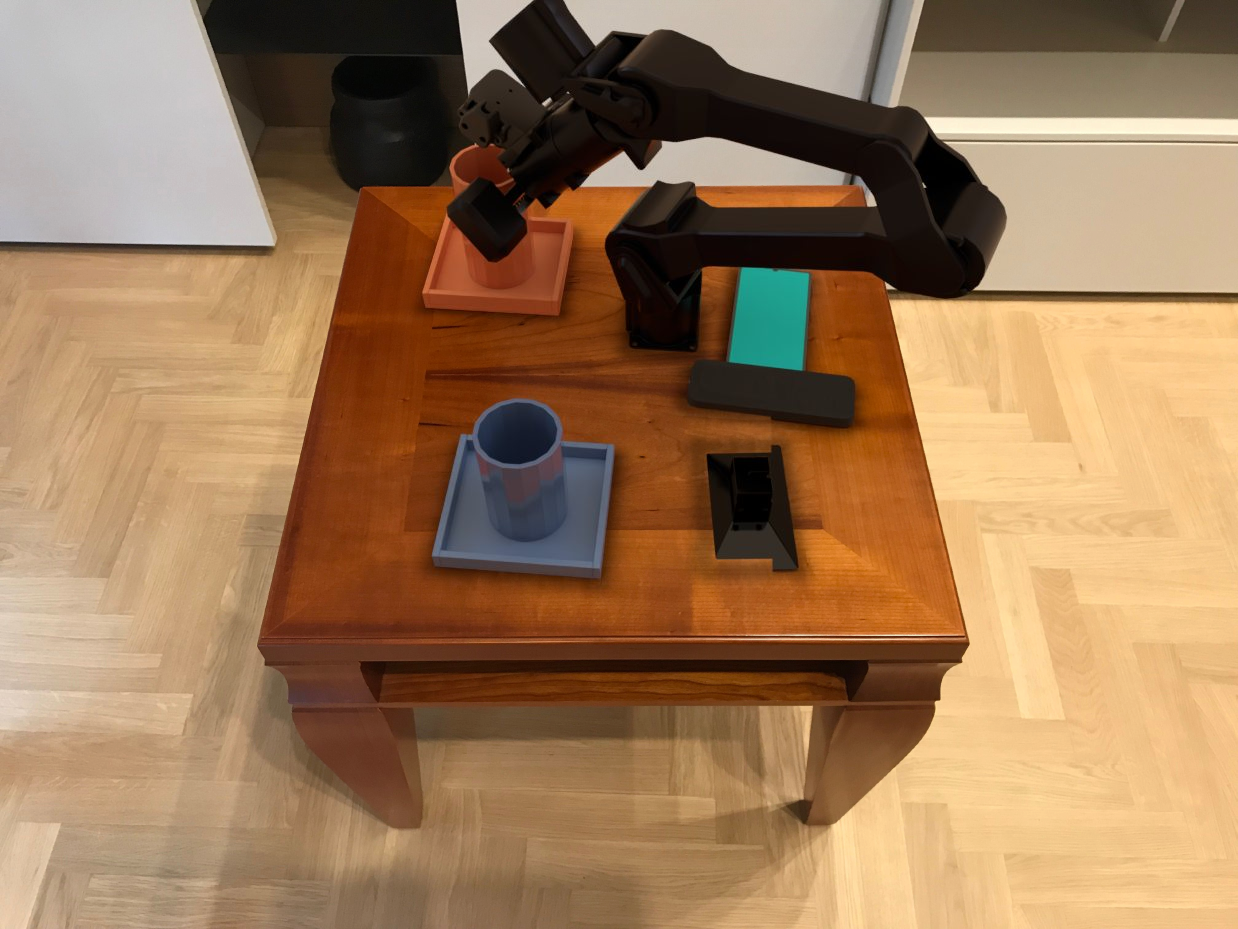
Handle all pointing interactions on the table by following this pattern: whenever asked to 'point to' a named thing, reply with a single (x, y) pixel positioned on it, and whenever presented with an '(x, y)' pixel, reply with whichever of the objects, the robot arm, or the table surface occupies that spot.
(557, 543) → the blue tray
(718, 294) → the table surface
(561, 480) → the blue cup
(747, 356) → the smartphone
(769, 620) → the table surface
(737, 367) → the remote control
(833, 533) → the table surface
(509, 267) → the rust cup
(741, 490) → the black stand
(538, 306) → the rust tray
